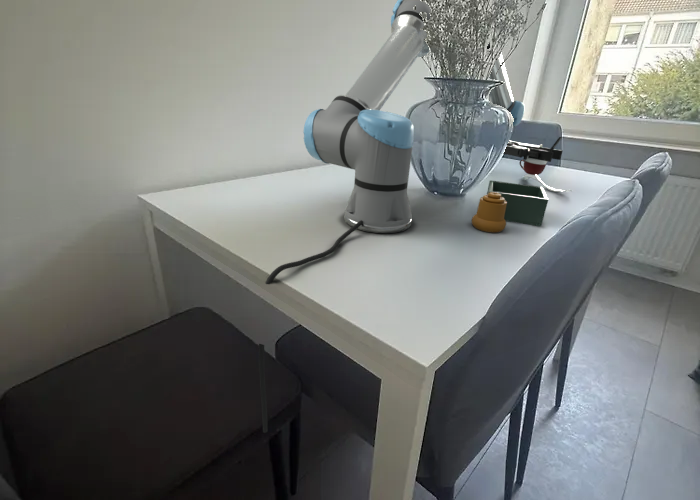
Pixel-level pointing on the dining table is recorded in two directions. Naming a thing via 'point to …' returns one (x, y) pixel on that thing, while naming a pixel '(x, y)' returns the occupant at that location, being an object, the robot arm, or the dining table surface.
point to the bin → (521, 202)
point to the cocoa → (536, 163)
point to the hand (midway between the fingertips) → (556, 156)
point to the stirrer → (542, 182)
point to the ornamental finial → (490, 213)
